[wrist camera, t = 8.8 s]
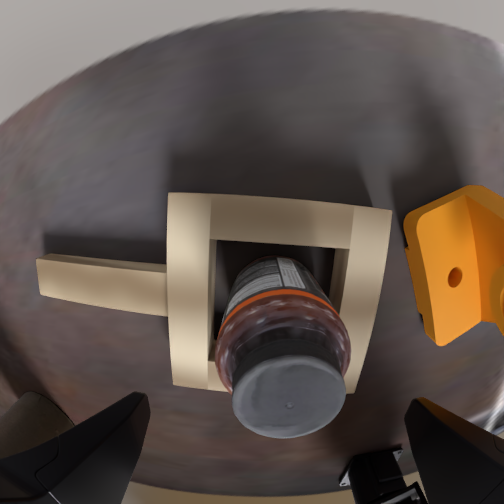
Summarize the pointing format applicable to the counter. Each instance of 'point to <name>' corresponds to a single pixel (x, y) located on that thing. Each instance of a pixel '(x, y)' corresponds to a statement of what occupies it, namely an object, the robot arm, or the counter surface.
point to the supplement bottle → (282, 350)
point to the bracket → (457, 261)
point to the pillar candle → (30, 424)
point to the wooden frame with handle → (204, 266)
